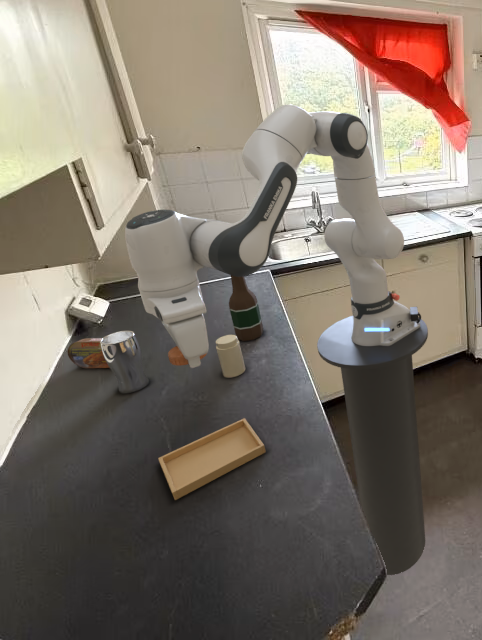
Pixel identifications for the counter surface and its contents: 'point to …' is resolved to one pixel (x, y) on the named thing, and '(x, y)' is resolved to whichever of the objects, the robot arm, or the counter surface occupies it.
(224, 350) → the jar
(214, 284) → the counter surface
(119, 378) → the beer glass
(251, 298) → the beer bottle
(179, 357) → the lid
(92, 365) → the tin
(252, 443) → the tray
